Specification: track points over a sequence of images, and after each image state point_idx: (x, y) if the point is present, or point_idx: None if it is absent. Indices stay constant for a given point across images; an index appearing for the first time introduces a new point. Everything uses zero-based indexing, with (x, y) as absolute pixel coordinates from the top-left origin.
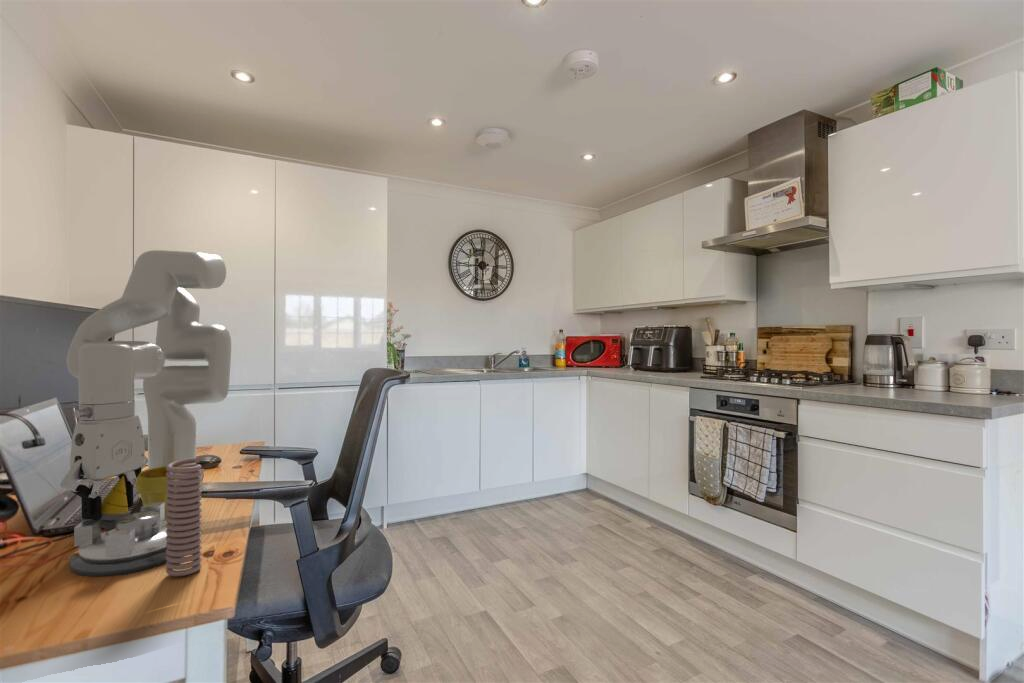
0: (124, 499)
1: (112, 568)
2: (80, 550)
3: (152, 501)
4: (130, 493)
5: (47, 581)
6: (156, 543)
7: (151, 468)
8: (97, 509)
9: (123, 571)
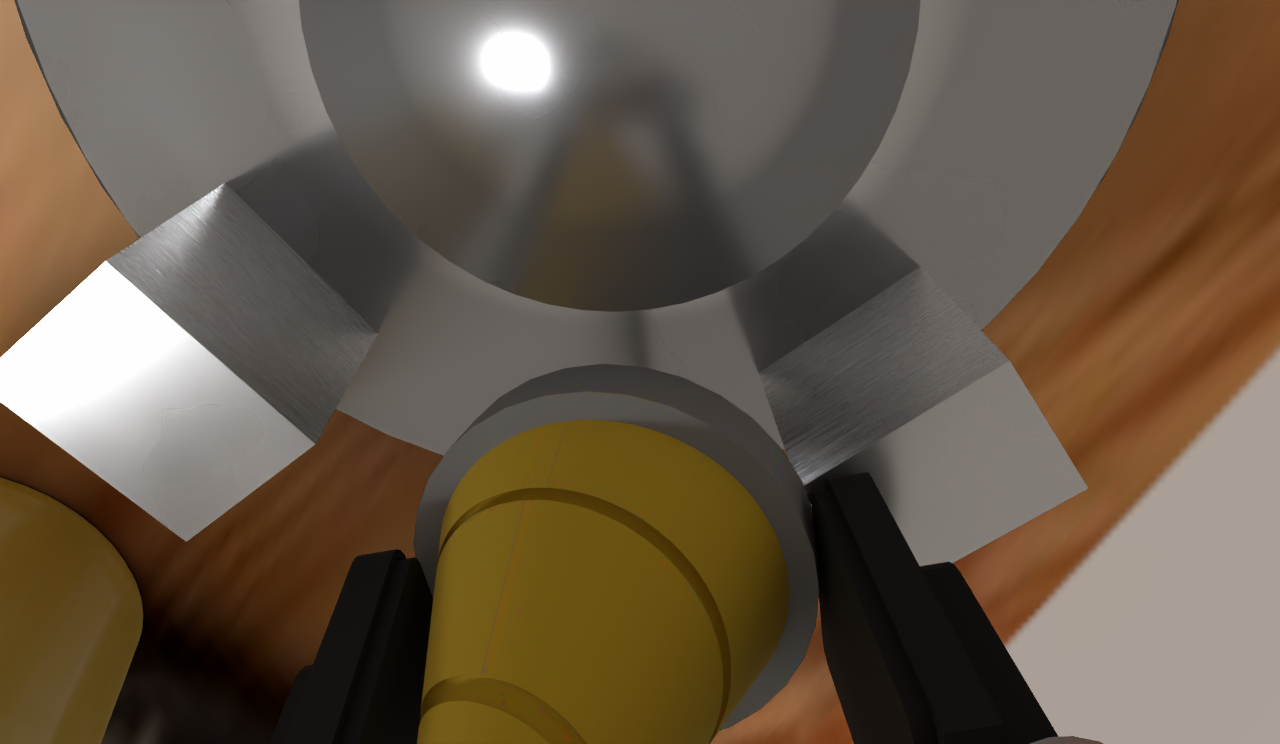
0: (517, 584)
1: None
2: (1065, 218)
3: (23, 701)
4: (344, 703)
5: (1201, 181)
6: None
7: None
8: (912, 564)
9: None
